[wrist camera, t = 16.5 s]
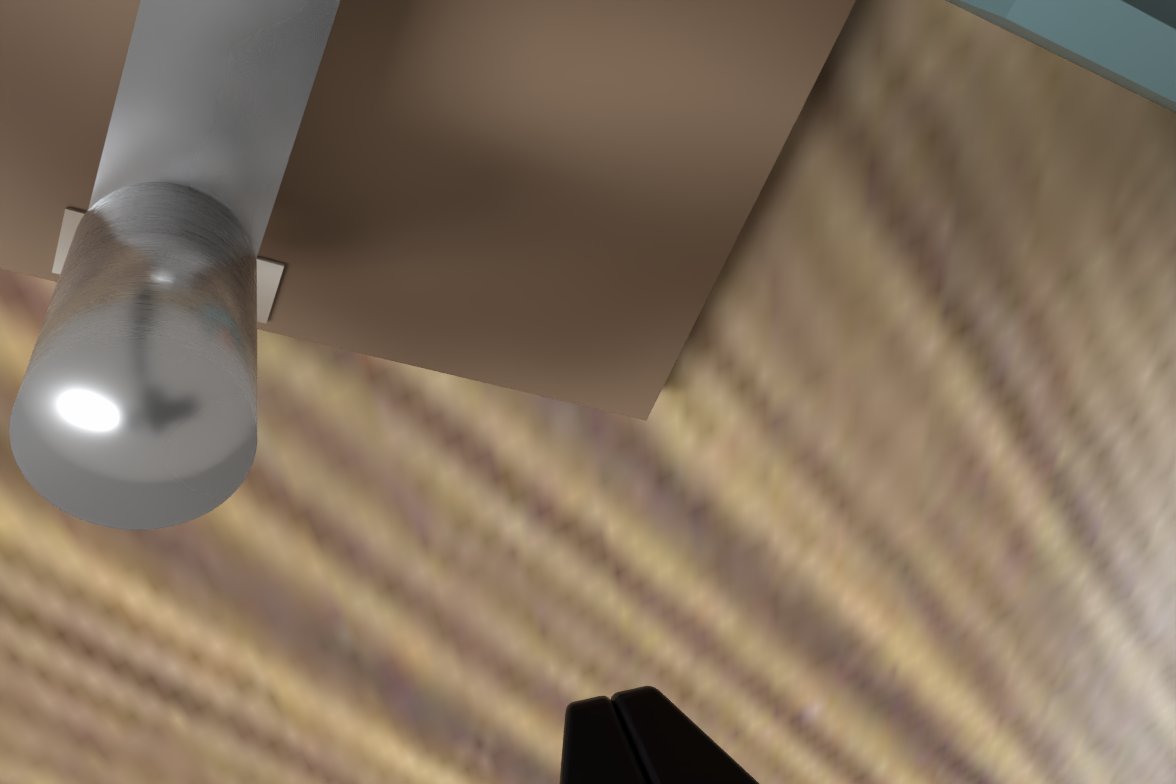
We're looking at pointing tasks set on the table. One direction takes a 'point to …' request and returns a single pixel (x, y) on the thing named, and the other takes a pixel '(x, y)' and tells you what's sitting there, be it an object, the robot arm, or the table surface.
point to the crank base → (467, 174)
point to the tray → (1099, 37)
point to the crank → (170, 268)
